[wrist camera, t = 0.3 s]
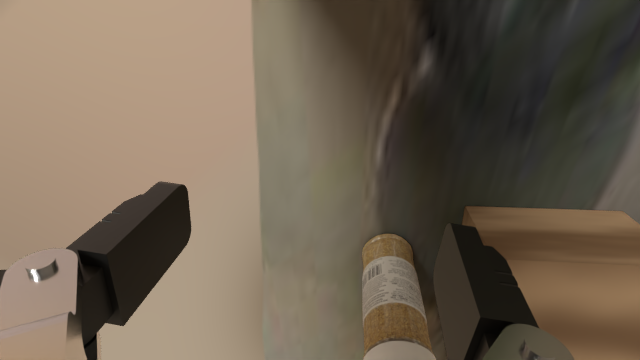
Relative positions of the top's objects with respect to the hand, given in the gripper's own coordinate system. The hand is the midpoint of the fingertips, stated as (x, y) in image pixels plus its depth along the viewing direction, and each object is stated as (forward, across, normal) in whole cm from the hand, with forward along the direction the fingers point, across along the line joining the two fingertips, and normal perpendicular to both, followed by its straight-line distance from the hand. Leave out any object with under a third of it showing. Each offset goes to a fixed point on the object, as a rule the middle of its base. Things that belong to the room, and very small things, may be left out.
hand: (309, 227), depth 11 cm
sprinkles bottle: (+18, -5, +14) cm, 23 cm away
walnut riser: (+18, -17, +14) cm, 28 cm away
